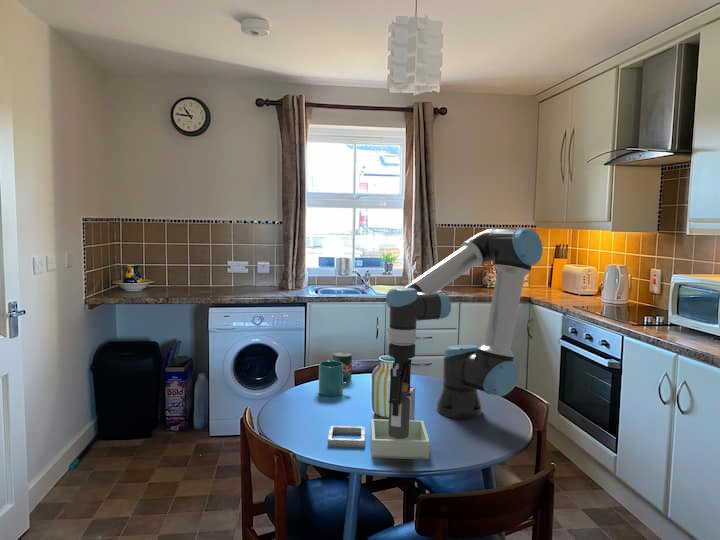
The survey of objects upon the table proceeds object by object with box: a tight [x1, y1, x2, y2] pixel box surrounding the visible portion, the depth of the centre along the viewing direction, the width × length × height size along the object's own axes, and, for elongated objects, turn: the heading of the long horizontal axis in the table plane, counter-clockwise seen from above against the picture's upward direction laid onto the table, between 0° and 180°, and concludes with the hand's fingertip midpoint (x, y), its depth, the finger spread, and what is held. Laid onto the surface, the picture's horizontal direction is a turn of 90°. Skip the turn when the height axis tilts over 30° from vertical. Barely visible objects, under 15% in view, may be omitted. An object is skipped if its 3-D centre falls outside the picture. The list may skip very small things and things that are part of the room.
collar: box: [327, 425, 366, 448], centre depth 156 cm, size 10×10×2 cm
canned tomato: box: [332, 350, 353, 382], centre depth 216 cm, size 8×8×11 cm
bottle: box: [388, 382, 410, 439], centre depth 151 cm, size 6×6×15 cm
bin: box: [370, 418, 430, 460], centre depth 152 cm, size 16×16×5 cm
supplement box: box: [407, 386, 416, 420], centre depth 171 cm, size 6×6×12 cm
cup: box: [318, 360, 352, 397], centre depth 199 cm, size 9×12×11 cm
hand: (399, 421), depth 152 cm, fingers closed on bottle, 6 cm apart
